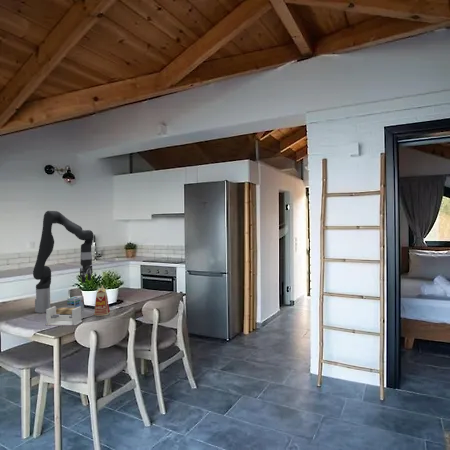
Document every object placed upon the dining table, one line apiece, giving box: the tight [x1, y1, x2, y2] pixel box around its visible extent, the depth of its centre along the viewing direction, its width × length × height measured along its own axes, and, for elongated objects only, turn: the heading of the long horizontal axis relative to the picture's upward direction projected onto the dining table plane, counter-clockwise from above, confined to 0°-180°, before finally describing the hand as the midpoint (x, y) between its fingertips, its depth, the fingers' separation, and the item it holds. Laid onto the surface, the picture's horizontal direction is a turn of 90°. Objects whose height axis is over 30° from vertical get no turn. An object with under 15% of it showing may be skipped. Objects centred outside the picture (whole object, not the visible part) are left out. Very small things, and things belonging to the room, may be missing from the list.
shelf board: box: [56, 307, 75, 315], centre depth 238 cm, size 14×5×3 cm, turn 84°
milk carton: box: [93, 285, 111, 317], centre depth 249 cm, size 9×9×20 cm
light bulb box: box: [66, 295, 85, 312], centre depth 258 cm, size 11×7×11 cm, turn 168°
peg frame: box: [45, 305, 83, 326], centre depth 228 cm, size 20×9×10 cm, turn 84°
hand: (86, 281), depth 248 cm, fingers open, 8 cm apart
